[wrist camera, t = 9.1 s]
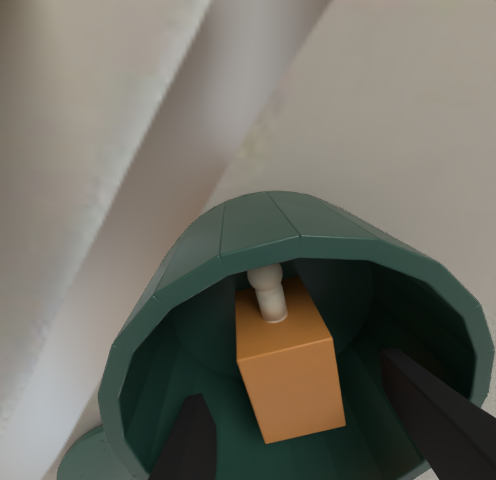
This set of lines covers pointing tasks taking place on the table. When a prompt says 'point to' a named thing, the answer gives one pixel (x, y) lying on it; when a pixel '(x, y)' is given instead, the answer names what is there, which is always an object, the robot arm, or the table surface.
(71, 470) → the lid
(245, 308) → the orange block with knob
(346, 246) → the pot
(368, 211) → the table surface
